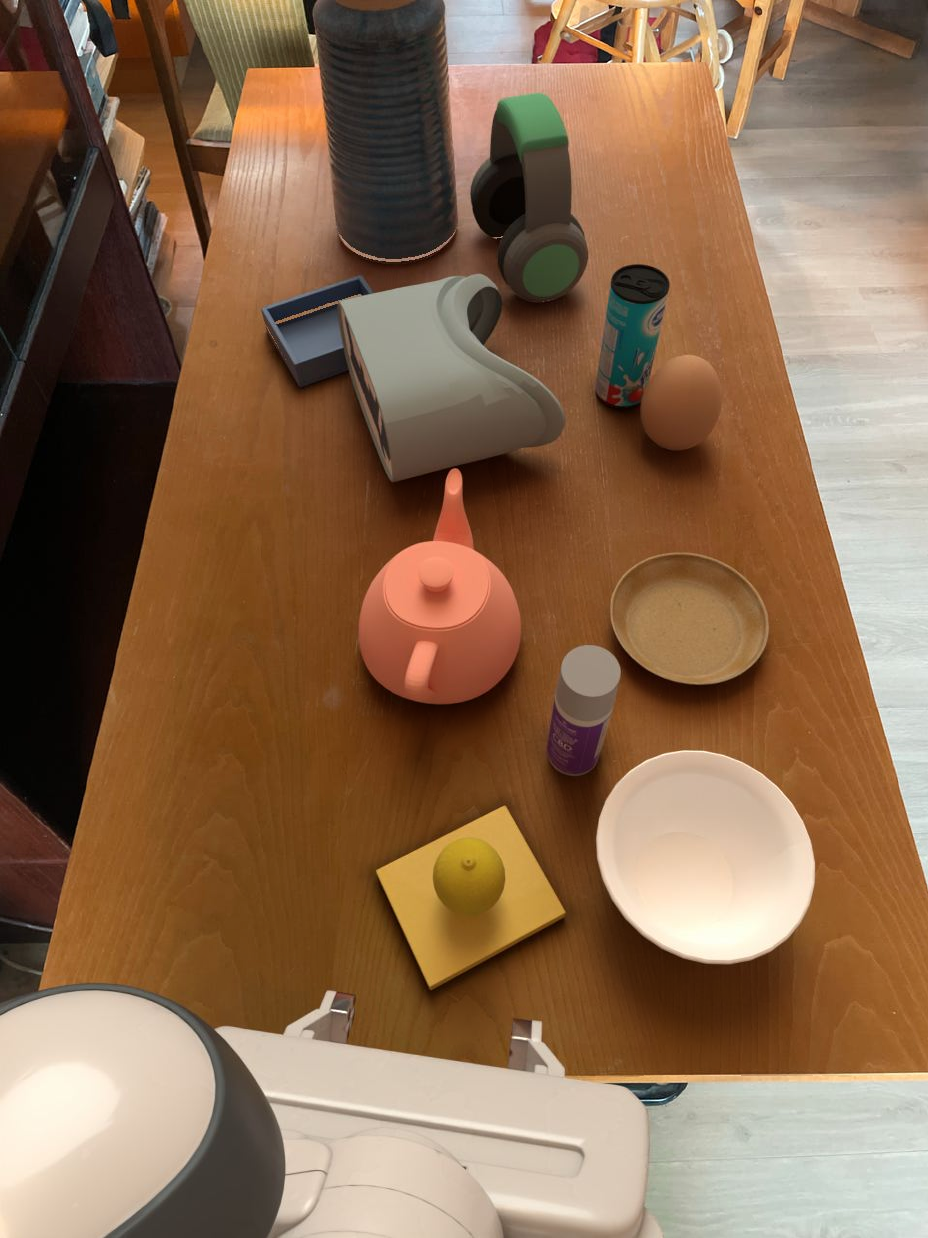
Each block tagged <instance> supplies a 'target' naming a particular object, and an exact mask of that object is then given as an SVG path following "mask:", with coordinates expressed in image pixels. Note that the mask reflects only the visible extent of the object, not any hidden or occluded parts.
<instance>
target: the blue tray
mask: <svg viewBox="0 0 928 1238" xmlns="http://www.w3.org/2000/svg"><path fill="white" fill-rule="evenodd" d="M373 293H375V292H374V291H373V290H372V288H371V286H370V285H369V284H368V282H367V281H366V279H365V278H364V277H363V275H362V274H359V275H355V276H353V277H350V278H347V279H344V280H341V281H338V282H335V283H331V284H329V285H326V286H323V287H320V288H316V289H314V290H310V291H308V292H305V293H302V294H298V295H296V296H293V297H290V298H286V299H284V300H280V301H277V302H274V303H272V304H269V305H265V306H262V307H260V310H261V315H262V318H263V322H265V323H264V326H265V324H266V326H267V327H268V329H269V331H270V333H271V334H270V333H269V331H268V329H267V327H266V326H265V330H266V333H267V334H268V337H269V338H270V339H271V341H272V343H273V344H274V347H275V348H276V350H277V351H278V353H279V355H280V357H281V358H282V360H283V362H284V363H285V365H286V367H287V368H288V370H289V372H290V374H291V375H292V377H293V378H294V380H295V382H296V384H297V385H298V387H299V388H303V387H306V386H308V385H312V384H314V383H317V382H320V381H322V380H325V379H329V378H331V377H334V376H337V375H340V374H342V373H345V372H347V371H349V368H348V364H347V360H346V356H345V352H344V348H343V343H342V338H341V332H340V326H339V319H338V309H337V306H338V304H335V305H332V306H329V307H326V308H323V309H320V310H317V311H314V312H312V313H309V314H306V315H303V316H300V317H297V318H294V319H291V320H288V321H285V322H282V323H279V324H275V322H276V321H278V320H282V319H284V318H287V317H290V316H292V315H296V314H299V313H302V312H304V311H308V310H311V309H315V308H318V307H319V306H323V305H325V304H327V303H332V302H335V301H338V300H342V299H345V298H348V297H351V296H354V295H358V294H361V295H362V296H364V295H369V294H373ZM271 335H272V336H273V338H274V339H273V338H272V336H271ZM274 340H275V341H274ZM275 342H276V343H277V344H276V343H275ZM277 345H278V346H277ZM278 347H279V348H278ZM281 352H282V353H281ZM282 354H283V355H282ZM285 359H286V360H285Z"/></svg>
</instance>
